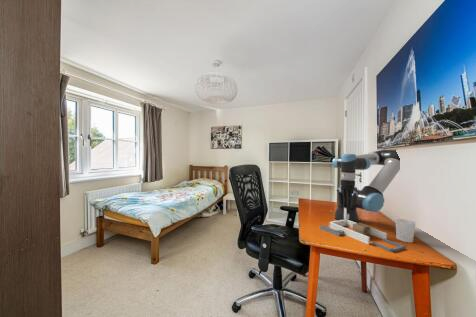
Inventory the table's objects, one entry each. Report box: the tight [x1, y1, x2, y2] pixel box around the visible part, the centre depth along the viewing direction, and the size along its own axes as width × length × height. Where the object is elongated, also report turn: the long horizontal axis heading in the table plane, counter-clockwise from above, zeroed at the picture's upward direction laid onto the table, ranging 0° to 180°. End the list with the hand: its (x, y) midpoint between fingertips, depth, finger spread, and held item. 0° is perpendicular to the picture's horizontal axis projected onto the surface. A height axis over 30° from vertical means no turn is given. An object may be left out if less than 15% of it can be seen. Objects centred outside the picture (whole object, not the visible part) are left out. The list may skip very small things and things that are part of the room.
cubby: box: [328, 219, 388, 245], centre depth 109 cm, size 15×24×4 cm, turn 23°
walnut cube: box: [352, 222, 372, 238], centre depth 106 cm, size 6×6×6 cm
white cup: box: [395, 218, 416, 243], centre depth 102 cm, size 8×8×10 cm
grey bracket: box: [371, 238, 406, 253], centre depth 94 cm, size 10×9×1 cm
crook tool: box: [319, 224, 345, 237], centre depth 112 cm, size 5×12×2 cm, turn 31°
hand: (346, 218), depth 114 cm, fingers closed
